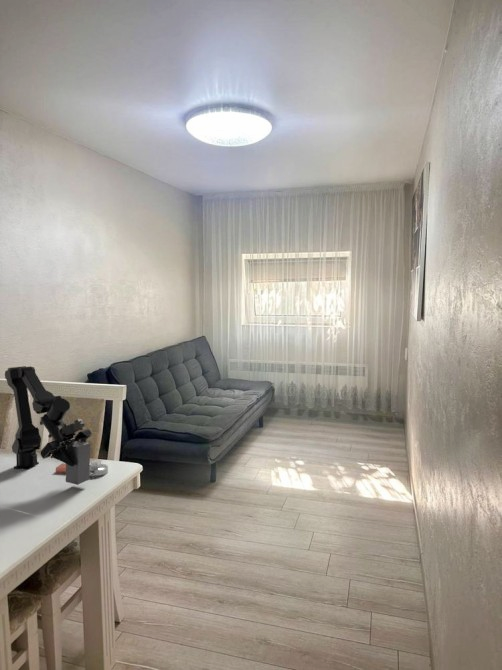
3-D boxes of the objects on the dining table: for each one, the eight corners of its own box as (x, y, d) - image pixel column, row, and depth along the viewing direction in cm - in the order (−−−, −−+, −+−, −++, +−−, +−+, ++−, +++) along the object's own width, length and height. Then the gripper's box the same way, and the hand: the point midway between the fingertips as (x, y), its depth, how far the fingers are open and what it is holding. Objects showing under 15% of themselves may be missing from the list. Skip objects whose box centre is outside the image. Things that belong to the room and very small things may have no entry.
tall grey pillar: (65, 481, 150) (66, 444, 149) (77, 476, 155) (78, 440, 154) (77, 484, 148) (78, 447, 147) (89, 479, 153) (90, 443, 152)
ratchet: (111, 469, 168) (111, 458, 167) (101, 478, 160) (101, 466, 159) (65, 466, 170) (65, 455, 170) (52, 474, 162) (52, 462, 162)
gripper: (46, 419, 142) (72, 458, 139) (88, 407, 159) (112, 441, 156) (29, 439, 146) (54, 477, 143) (71, 425, 163) (95, 458, 160)
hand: (80, 462), depth 150 cm, fingers closed on tall grey pillar, 6 cm apart
